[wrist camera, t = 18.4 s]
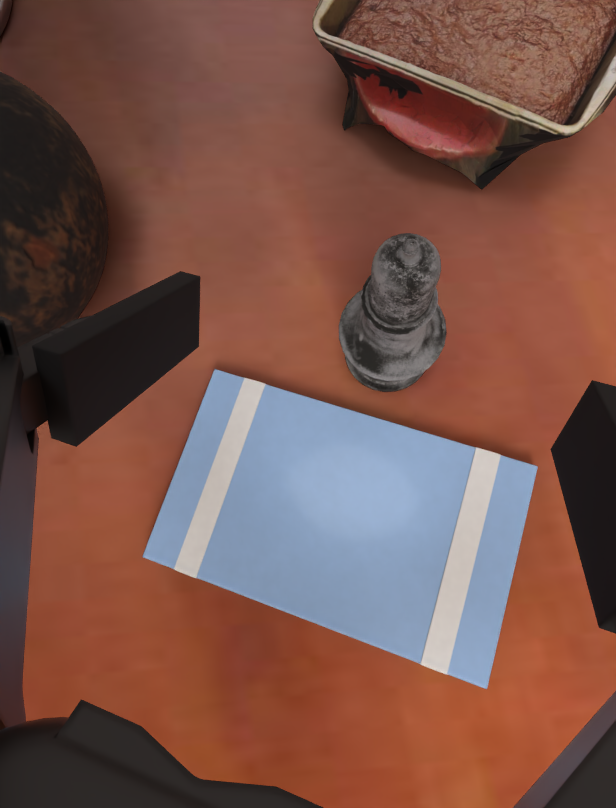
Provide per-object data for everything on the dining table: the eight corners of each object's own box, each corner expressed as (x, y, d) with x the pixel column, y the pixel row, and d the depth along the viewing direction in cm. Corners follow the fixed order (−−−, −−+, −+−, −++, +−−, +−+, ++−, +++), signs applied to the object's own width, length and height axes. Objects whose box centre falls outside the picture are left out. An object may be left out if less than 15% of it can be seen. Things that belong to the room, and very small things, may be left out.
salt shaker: (436, 310, 28) (496, 174, 17) (432, 400, 27) (493, 320, 15) (344, 305, 29) (339, 170, 17) (335, 392, 28) (324, 309, 16)
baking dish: (490, 250, 31) (590, 138, 21) (282, 110, 32) (287, -59, 22) (583, 114, 34) (708, -39, 24) (390, -11, 35) (436, -206, 25)
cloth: (483, 685, 24) (487, 690, 23) (146, 555, 27) (141, 557, 26) (534, 467, 26) (539, 466, 25) (216, 371, 29) (213, 368, 28)
